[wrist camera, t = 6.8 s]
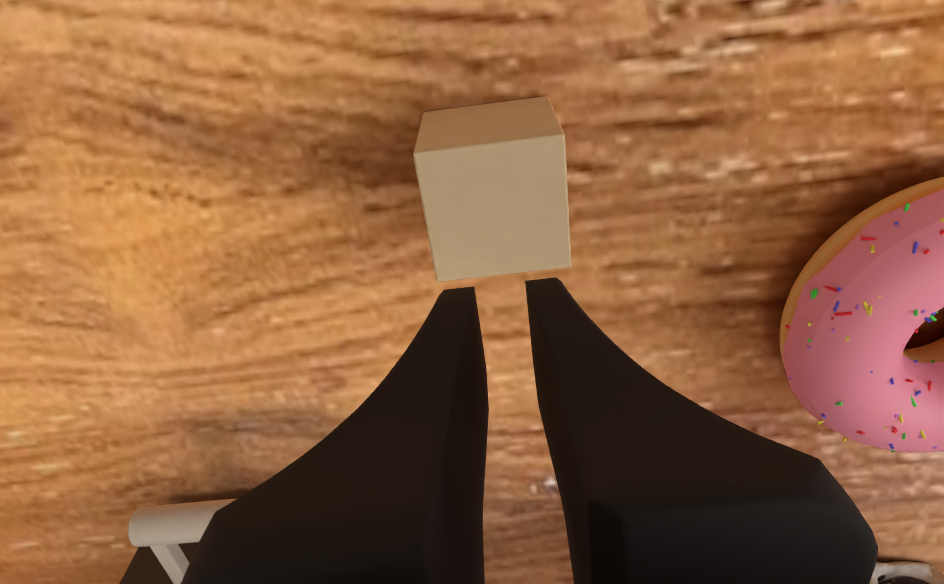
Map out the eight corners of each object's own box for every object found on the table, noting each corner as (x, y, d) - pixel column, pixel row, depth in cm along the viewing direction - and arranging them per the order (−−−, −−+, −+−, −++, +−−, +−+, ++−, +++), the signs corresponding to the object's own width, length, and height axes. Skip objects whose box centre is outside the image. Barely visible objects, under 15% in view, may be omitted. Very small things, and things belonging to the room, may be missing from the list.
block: (548, 95, 19) (565, 134, 16) (556, 211, 21) (571, 268, 18) (422, 111, 19) (412, 153, 16) (442, 224, 21) (436, 283, 18)
